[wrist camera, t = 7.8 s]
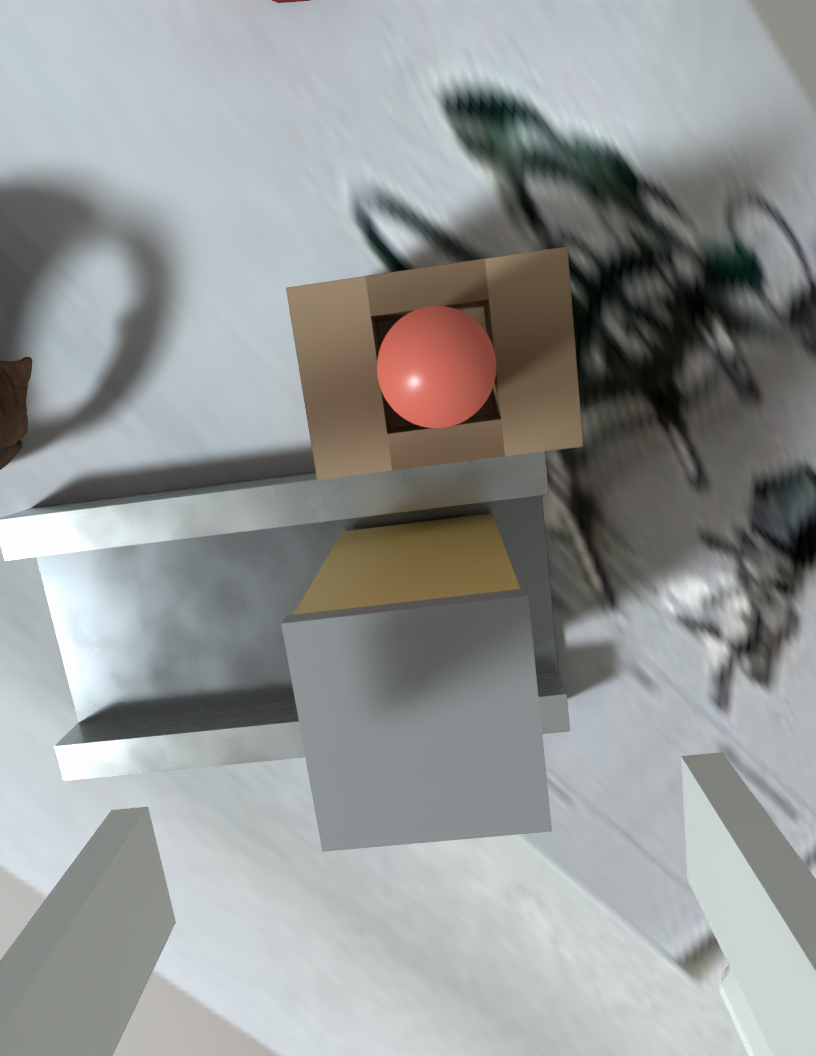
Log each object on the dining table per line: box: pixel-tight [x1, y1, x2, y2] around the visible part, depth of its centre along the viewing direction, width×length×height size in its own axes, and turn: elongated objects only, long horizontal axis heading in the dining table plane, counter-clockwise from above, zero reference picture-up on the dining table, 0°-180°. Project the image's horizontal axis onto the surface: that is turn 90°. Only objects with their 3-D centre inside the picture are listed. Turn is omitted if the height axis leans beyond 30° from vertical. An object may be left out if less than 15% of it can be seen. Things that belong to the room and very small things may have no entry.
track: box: [0, 451, 570, 781], centre depth 28 cm, size 11×21×2 cm, turn 98°
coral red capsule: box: [377, 306, 496, 428], centre depth 18 cm, size 3×3×4 cm
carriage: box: [281, 513, 552, 851], centre depth 23 cm, size 7×6×11 cm
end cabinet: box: [286, 247, 583, 480], centre depth 24 cm, size 6×8×7 cm
